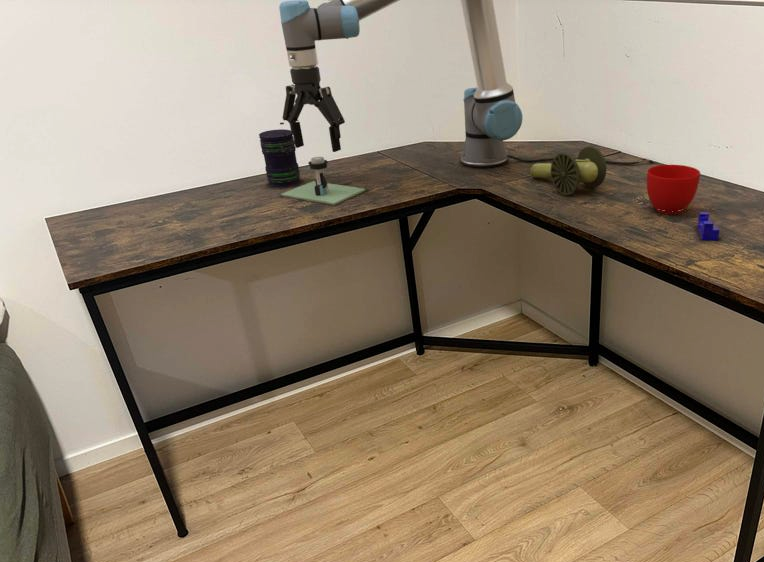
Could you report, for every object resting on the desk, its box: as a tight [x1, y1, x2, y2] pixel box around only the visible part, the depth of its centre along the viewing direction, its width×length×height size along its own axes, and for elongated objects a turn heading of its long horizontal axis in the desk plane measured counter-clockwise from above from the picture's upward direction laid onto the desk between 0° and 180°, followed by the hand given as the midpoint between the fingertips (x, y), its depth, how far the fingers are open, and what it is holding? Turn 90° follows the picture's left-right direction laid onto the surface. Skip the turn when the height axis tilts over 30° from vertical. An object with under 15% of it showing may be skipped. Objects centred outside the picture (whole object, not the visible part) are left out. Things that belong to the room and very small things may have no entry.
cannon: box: [530, 145, 607, 196], centre depth 192 cm, size 25×12×11 cm, turn 37°
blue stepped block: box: [696, 211, 720, 241], centre depth 158 cm, size 8×4×4 cm, turn 173°
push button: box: [308, 156, 329, 196], centre depth 192 cm, size 7×5×10 cm
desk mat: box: [280, 180, 366, 206], centre depth 196 cm, size 20×14×1 cm
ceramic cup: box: [646, 164, 701, 215], centre depth 173 cm, size 13×17×10 cm
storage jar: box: [258, 122, 302, 189], centre depth 202 cm, size 10×10×18 cm
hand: (318, 148), depth 188 cm, fingers open, 13 cm apart
